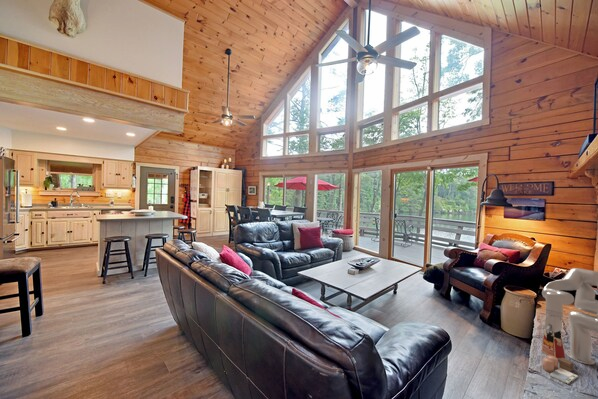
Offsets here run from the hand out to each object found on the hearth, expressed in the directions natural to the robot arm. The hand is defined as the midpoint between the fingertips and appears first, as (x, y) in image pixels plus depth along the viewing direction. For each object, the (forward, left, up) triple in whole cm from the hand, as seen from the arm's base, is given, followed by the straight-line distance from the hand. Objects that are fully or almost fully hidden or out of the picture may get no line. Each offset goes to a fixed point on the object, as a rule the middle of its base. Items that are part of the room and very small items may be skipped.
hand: (553, 339), depth 157 cm
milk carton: (-23, -8, -20) cm, 32 cm away
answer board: (0, +4, -20) cm, 21 cm away
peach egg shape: (-6, -3, -20) cm, 21 cm away
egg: (0, -3, -20) cm, 20 cm away
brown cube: (-12, +2, -20) cm, 24 cm away
